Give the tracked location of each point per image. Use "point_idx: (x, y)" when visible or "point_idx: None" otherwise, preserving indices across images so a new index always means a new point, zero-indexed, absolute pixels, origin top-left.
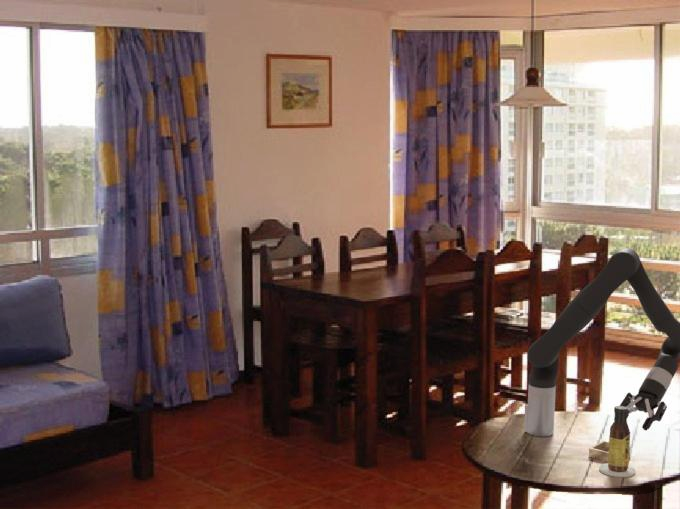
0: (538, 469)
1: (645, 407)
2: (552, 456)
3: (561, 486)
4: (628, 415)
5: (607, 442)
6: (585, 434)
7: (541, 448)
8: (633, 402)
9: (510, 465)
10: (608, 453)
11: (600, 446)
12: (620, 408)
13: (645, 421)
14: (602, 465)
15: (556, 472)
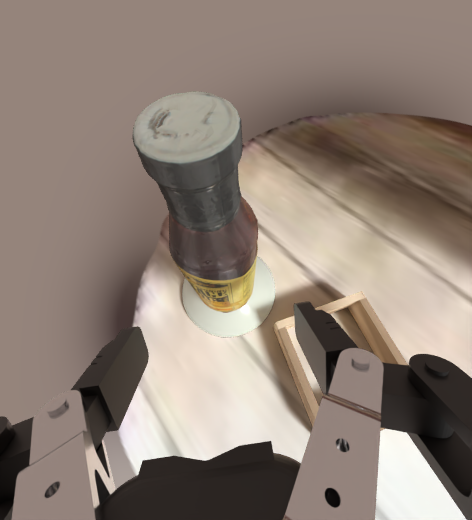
0: (314, 163)
1: (128, 498)
2: (381, 225)
3: None
4: (322, 390)
5: None
6: None
7: (449, 237)
8: (344, 464)
9: (352, 138)
10: None
11: (391, 362)
12: (168, 104)
13: (114, 354)
14: (267, 274)
15: (285, 179)
